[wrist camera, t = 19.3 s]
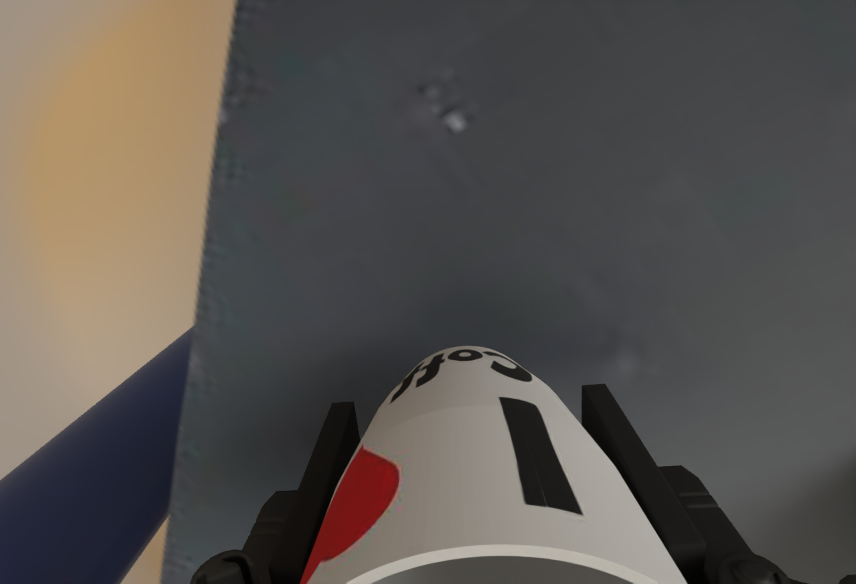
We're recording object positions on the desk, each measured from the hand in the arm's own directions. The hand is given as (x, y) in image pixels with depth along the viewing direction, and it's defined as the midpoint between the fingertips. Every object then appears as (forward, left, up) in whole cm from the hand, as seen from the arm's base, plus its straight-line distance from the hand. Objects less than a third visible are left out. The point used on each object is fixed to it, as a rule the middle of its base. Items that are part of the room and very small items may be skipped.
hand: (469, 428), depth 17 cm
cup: (0, 0, -1) cm, 1 cm away
